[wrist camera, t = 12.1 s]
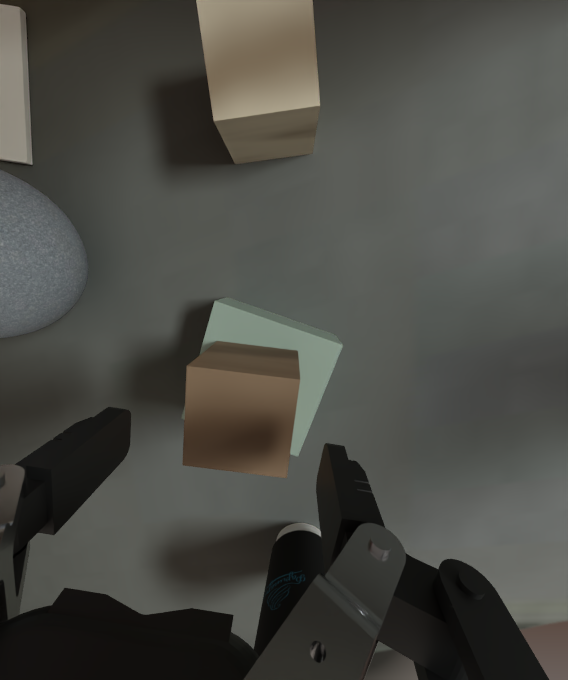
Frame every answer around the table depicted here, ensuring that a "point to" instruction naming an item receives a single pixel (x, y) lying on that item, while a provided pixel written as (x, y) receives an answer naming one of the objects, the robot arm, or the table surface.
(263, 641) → the dixie cup
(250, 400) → the walnut block
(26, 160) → the card
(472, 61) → the table surface
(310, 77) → the birch block
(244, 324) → the sage green base block
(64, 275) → the decorative stone
